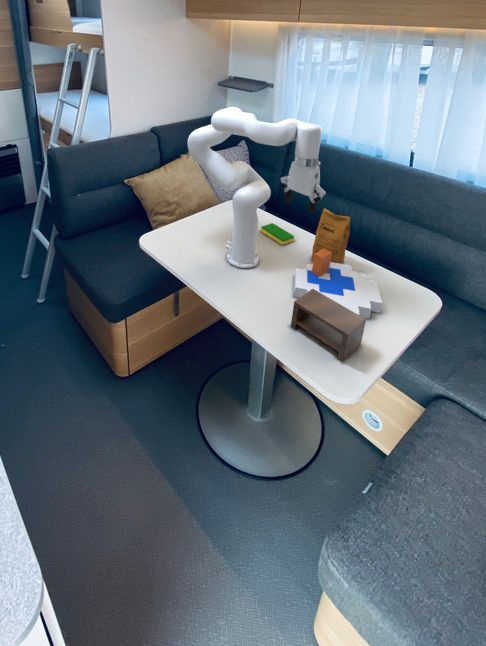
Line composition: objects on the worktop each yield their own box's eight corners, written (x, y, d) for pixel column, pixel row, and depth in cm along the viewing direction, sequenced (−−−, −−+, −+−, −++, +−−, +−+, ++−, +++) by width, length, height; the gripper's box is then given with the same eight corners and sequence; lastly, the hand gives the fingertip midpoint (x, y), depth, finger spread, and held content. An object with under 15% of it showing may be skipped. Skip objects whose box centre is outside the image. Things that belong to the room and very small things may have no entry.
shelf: (290, 326, 129) (294, 301, 126) (308, 313, 135) (312, 288, 132) (342, 362, 117) (348, 335, 113) (360, 345, 123) (366, 319, 119)
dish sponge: (282, 245, 175) (283, 240, 174) (260, 231, 186) (260, 226, 185) (294, 240, 178) (294, 236, 177) (271, 227, 189) (272, 222, 188)
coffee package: (319, 250, 172) (326, 203, 164) (347, 263, 163) (356, 214, 156) (306, 259, 165) (314, 211, 157) (335, 273, 157) (345, 222, 149)
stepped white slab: (294, 302, 135) (296, 256, 160) (293, 311, 136) (295, 265, 161) (387, 319, 128) (373, 269, 153) (384, 329, 129) (371, 277, 154)
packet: (311, 272, 150) (314, 253, 147) (320, 266, 154) (323, 248, 151) (319, 277, 148) (323, 258, 145) (329, 270, 151) (332, 252, 148)
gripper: (335, 165, 132) (327, 213, 138) (290, 151, 144) (285, 195, 150) (322, 170, 127) (315, 219, 133) (277, 155, 139) (272, 201, 146)
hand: (299, 206), depth 142 cm, fingers open, 9 cm apart
